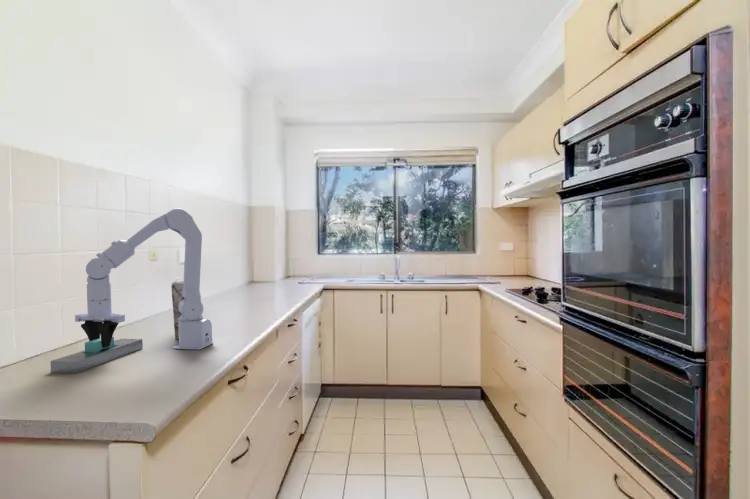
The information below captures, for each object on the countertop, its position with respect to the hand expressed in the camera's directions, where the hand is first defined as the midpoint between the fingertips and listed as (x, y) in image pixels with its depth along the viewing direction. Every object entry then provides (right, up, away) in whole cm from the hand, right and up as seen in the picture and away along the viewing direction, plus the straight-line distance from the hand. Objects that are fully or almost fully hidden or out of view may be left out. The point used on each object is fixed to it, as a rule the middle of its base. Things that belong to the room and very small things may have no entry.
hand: (100, 346), depth 116 cm
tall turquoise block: (0, -3, 0) cm, 3 cm away
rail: (0, -4, 0) cm, 4 cm away
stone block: (+10, -3, +29) cm, 31 cm away
